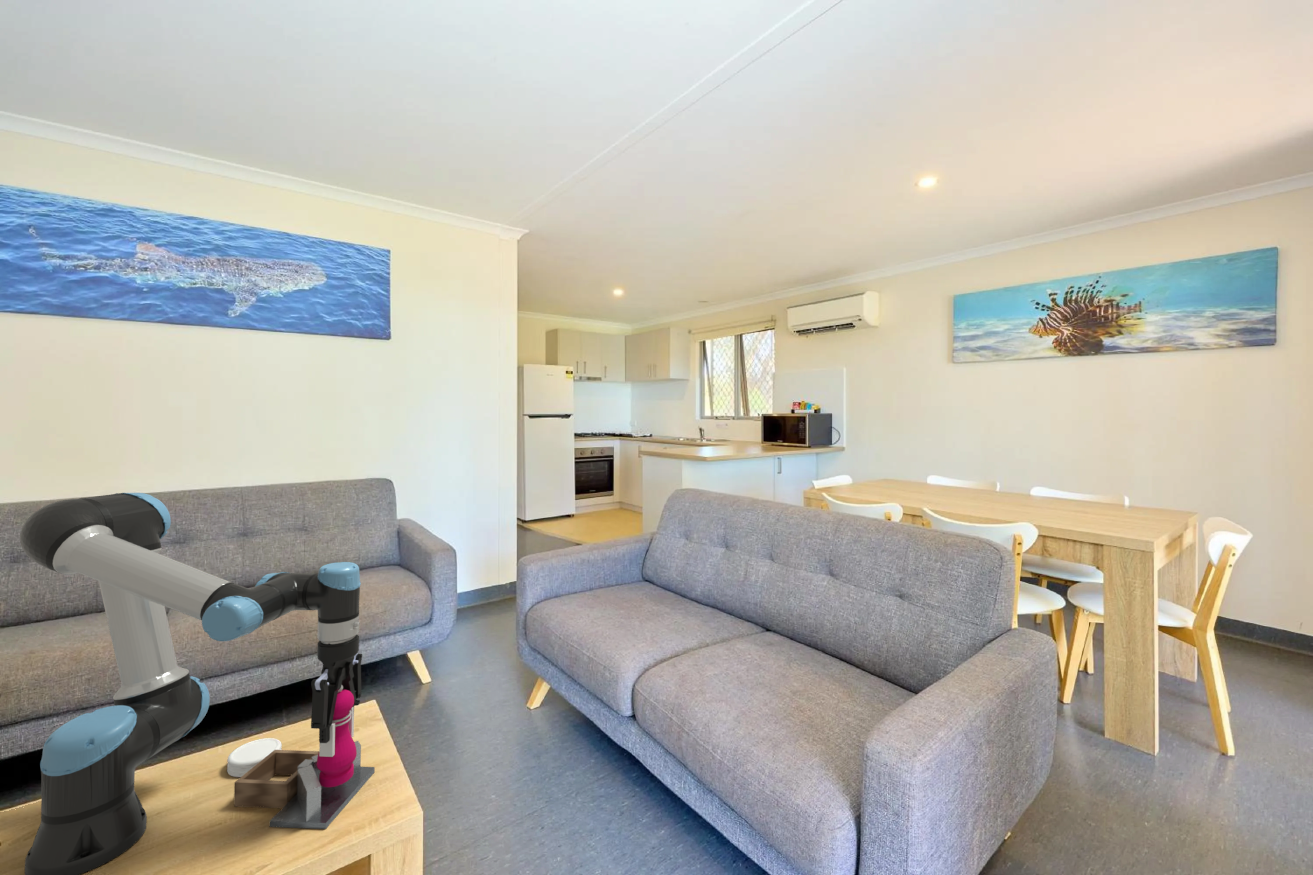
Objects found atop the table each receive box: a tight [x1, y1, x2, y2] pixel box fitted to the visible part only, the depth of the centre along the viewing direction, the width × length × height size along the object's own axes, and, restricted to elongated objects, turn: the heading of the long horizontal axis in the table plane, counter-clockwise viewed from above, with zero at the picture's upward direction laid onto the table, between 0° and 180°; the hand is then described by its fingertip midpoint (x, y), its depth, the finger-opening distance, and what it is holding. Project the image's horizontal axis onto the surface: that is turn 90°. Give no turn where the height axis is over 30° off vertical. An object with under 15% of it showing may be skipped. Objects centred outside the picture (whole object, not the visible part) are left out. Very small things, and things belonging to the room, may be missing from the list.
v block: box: [269, 740, 376, 830], centre depth 110 cm, size 17×11×7 cm, turn 179°
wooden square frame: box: [233, 749, 319, 809], centre depth 112 cm, size 11×11×5 cm
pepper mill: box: [317, 685, 357, 787], centre depth 110 cm, size 7×7×20 cm
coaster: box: [226, 737, 283, 778], centre depth 121 cm, size 10×10×4 cm
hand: (337, 745), depth 110 cm, fingers closed on pepper mill, 6 cm apart
